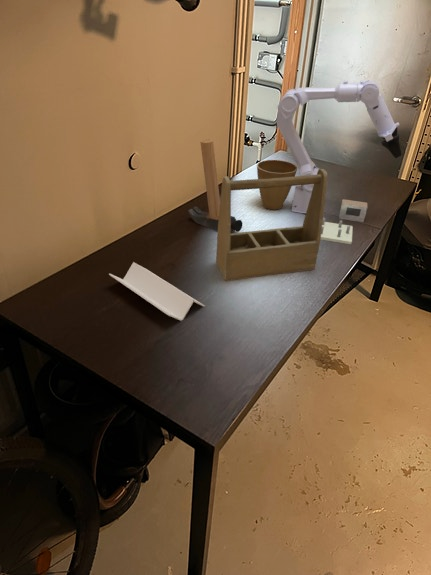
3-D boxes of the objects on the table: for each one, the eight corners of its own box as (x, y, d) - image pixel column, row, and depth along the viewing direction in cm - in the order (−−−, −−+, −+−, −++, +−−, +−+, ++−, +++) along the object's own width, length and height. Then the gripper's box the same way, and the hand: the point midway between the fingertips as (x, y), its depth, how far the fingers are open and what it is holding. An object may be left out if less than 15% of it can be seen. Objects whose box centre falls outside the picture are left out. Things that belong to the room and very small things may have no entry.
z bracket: (135, 286, 129) (146, 268, 129) (193, 325, 116) (205, 305, 116) (108, 274, 119) (120, 255, 119) (168, 315, 106) (181, 293, 106)
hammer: (190, 226, 157) (177, 141, 142) (198, 221, 160) (187, 138, 146) (234, 234, 145) (226, 143, 131) (243, 229, 149) (235, 139, 134)
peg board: (306, 237, 149) (308, 228, 147) (310, 222, 158) (312, 213, 156) (351, 244, 146) (353, 235, 144) (352, 228, 155) (354, 219, 153)
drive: (338, 218, 161) (342, 204, 158) (339, 213, 165) (342, 199, 161) (363, 222, 160) (367, 207, 156) (363, 217, 163) (367, 202, 160)
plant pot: (291, 215, 161) (297, 174, 152) (252, 212, 163) (255, 171, 154) (292, 199, 173) (297, 160, 164) (255, 196, 175) (258, 157, 166)
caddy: (224, 282, 125) (230, 184, 108) (215, 262, 134) (219, 169, 116) (315, 270, 132) (334, 177, 114) (300, 252, 140) (316, 163, 123)
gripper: (394, 115, 133) (411, 153, 138) (392, 105, 145) (408, 141, 149) (372, 127, 137) (389, 164, 141) (371, 117, 148) (388, 151, 153)
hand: (397, 153), depth 145 cm, fingers open, 7 cm apart
